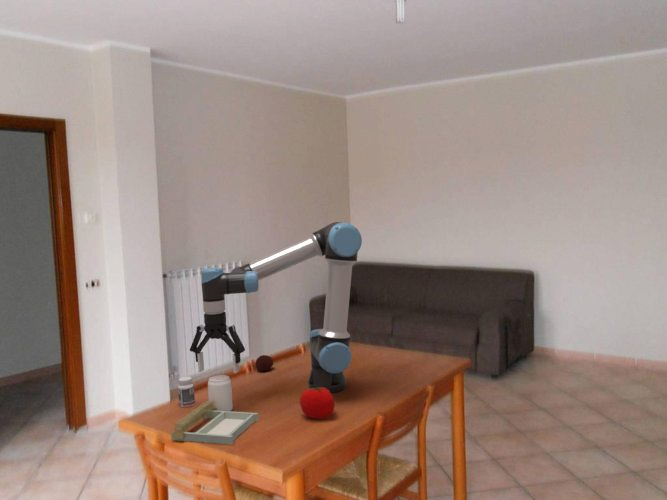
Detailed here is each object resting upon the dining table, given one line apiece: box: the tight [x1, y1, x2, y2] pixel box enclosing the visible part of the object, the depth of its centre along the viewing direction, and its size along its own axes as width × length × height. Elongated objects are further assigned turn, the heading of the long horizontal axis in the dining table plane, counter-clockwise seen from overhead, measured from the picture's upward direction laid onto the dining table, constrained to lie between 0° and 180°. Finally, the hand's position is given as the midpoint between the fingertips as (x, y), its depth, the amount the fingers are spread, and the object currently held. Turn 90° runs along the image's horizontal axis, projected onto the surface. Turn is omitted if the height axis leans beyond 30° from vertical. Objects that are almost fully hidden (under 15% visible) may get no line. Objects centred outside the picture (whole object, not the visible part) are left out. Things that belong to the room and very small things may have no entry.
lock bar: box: [171, 399, 217, 439], centre depth 193 cm, size 4×23×4 cm, turn 164°
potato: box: [255, 354, 274, 372], centre depth 256 cm, size 7×8×7 cm
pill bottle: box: [177, 376, 196, 408], centre depth 216 cm, size 6×6×10 cm
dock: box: [170, 410, 259, 446], centre depth 191 cm, size 21×20×2 cm
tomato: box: [299, 387, 335, 420], centre depth 198 cm, size 11×13×10 cm
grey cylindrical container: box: [207, 374, 233, 411], centre depth 208 cm, size 8×8×12 cm
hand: (218, 371), depth 207 cm, fingers open, 13 cm apart
